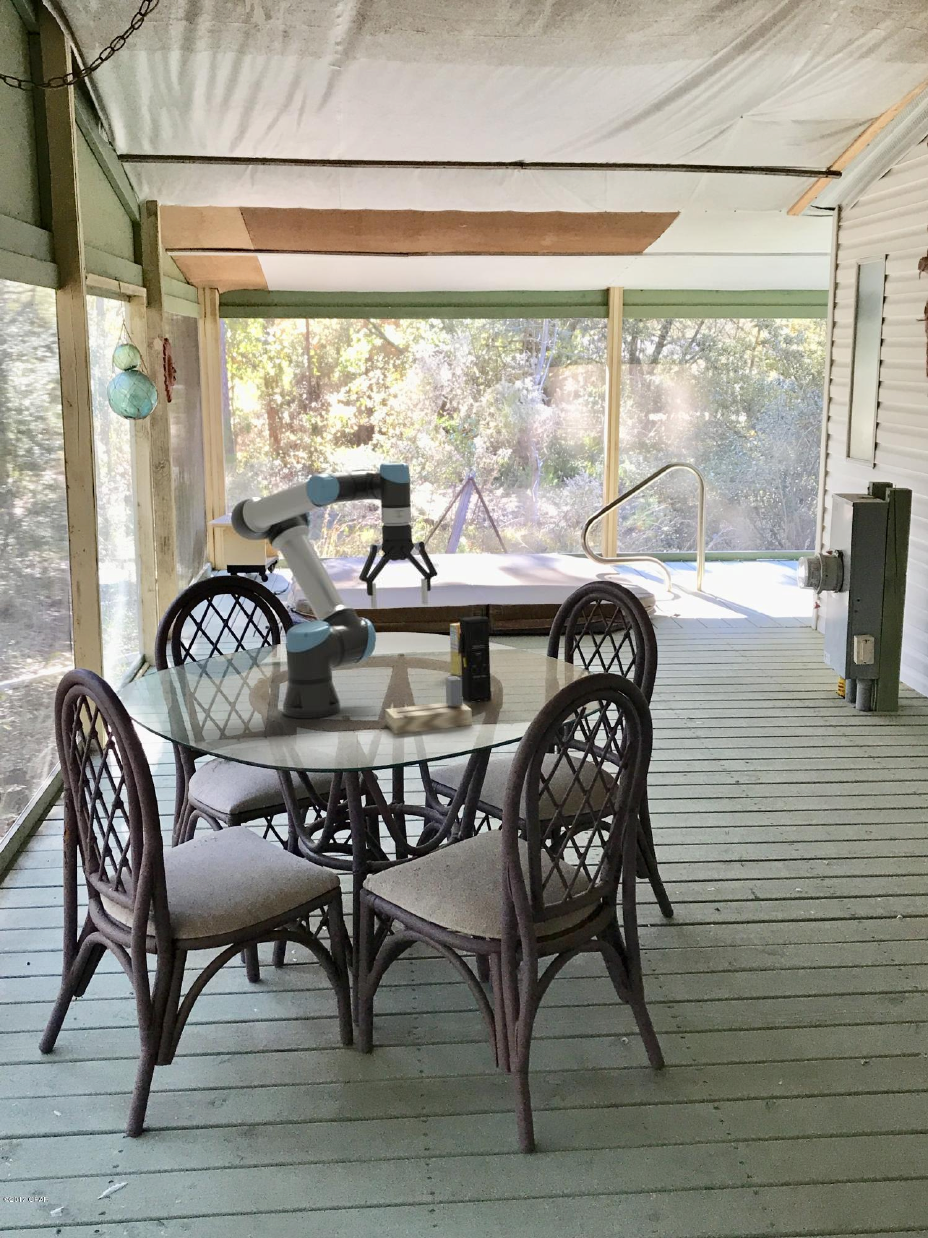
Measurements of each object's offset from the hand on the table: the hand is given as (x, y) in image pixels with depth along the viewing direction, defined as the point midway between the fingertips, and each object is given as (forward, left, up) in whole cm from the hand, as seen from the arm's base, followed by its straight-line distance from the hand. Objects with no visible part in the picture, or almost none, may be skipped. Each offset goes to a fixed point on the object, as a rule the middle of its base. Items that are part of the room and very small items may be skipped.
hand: (399, 606), depth 297 cm
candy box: (+30, +37, -29) cm, 56 cm away
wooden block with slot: (+3, -13, -29) cm, 32 cm away
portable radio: (+22, +6, -29) cm, 37 cm away
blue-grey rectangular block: (+10, -13, -24) cm, 29 cm away
